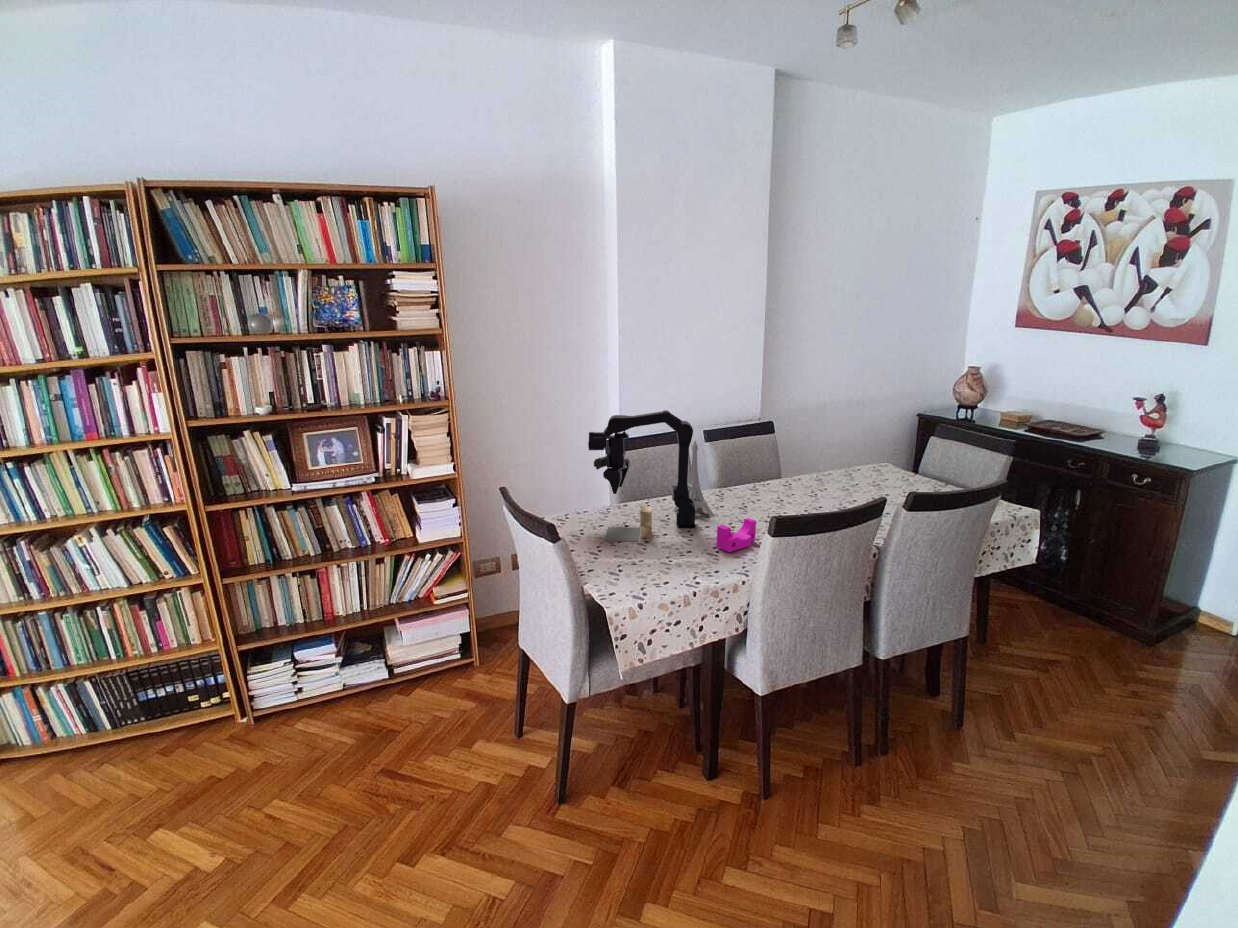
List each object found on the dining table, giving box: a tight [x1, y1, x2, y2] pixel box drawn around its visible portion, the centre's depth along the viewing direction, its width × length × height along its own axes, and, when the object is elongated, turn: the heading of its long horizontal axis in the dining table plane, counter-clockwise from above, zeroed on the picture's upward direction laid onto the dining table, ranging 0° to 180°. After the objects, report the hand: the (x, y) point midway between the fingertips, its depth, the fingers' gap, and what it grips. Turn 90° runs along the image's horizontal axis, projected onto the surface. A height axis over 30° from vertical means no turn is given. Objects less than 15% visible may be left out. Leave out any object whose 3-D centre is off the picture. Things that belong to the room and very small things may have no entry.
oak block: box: [639, 505, 653, 539], centre depth 231 cm, size 4×6×10 cm, turn 176°
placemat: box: [604, 526, 640, 543], centre depth 233 cm, size 12×14×1 cm
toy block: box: [716, 517, 757, 553], centre depth 222 cm, size 15×6×8 cm, turn 124°
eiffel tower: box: [672, 440, 717, 518], centre depth 251 cm, size 13×13×30 cm
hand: (617, 490), depth 239 cm, fingers open, 9 cm apart
